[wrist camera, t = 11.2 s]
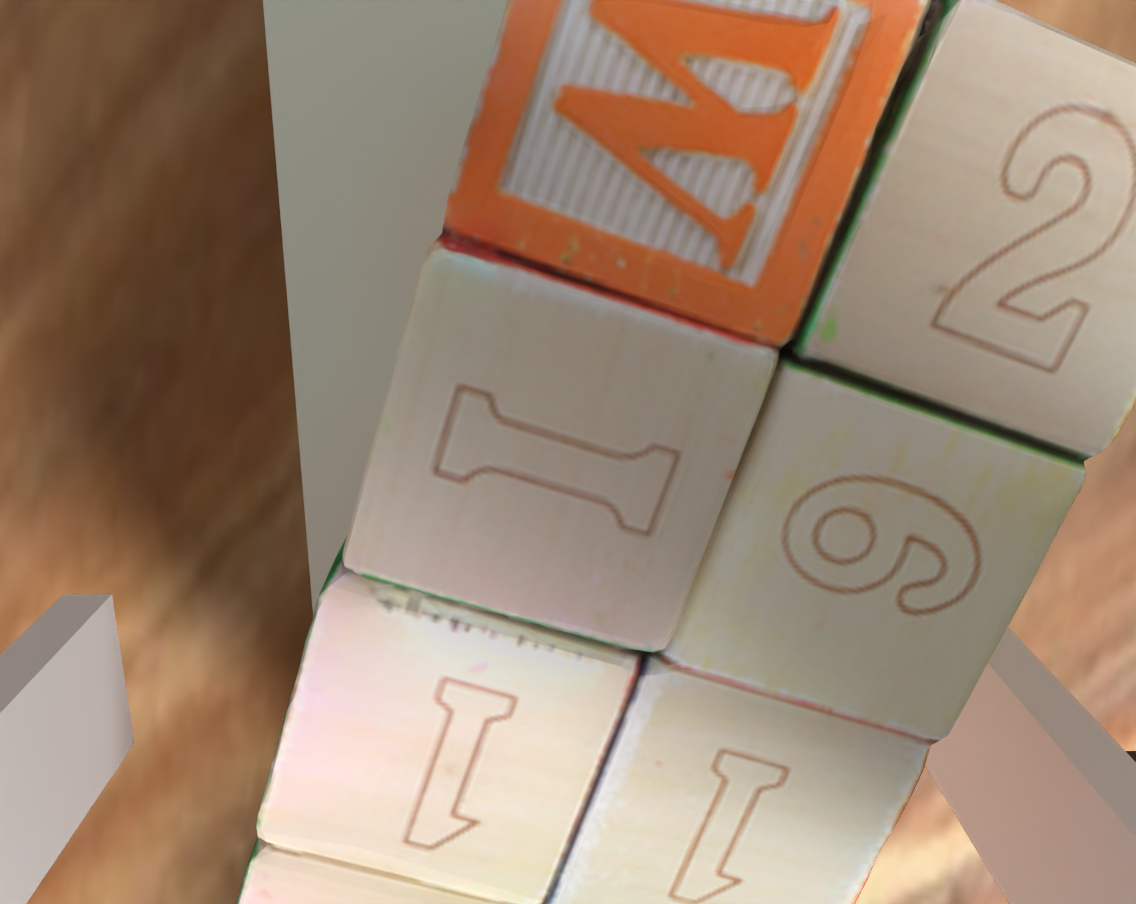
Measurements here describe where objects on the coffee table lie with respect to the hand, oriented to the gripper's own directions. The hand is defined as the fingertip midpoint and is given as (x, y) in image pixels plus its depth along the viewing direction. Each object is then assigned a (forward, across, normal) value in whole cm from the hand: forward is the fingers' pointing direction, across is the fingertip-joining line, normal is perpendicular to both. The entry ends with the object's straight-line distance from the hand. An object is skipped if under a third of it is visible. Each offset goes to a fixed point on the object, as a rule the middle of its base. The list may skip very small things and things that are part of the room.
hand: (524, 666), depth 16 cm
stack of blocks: (+6, 0, +1) cm, 6 cm away
